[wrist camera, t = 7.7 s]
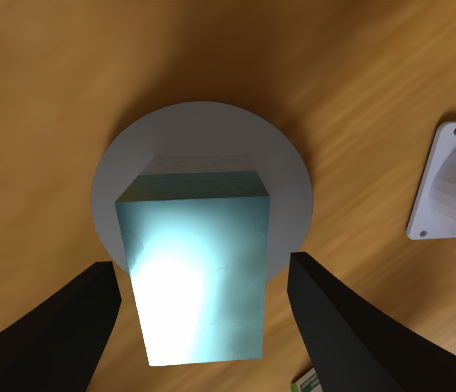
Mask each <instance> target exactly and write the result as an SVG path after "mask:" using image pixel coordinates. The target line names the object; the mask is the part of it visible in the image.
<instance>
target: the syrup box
mask: <svg viewBox="0 0 456 392" xmlns="http://www.w3.org/2000/svg"><path fill="white" fill-rule="evenodd" d="M291 392H323V391H322V388H321V385H320V382H319V380H318V377H317V374H316V371H315V369H314V368H312V369H311V370H310V371H309V372H308V373H306V374H305V375H304V376H303V377H302V378H300V379H299V380H298V381H297V382H295V383H293V384H292V385H291Z"/></svg>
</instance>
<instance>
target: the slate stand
mask: <svg viewBox="0 0 456 392" xmlns="http://www.w3.org/2000/svg"><path fill="white" fill-rule="evenodd" d="M239 154H247V155H248V157H249V158H250V160H251V162H252V164H253V166H254V168H255V169H256V171H257V173H258V175H259V177H260V179H261V181H262V182H263V184H264V186H265V188H266V190H267V192H268V193H269V195H270V204H269V224H268V244H267V264H266V282H268V281H269V280H271V279H272V278H274V277H275V276H276V275H278V274H279V273H280V272H281V271H282V270H283V269H284V268H285V267H286V266H287V265H288V264H289V263H290V254H291V252H298V251H299V249H300V248H301V246H302V244H303V242H304V240H305V238H306V236H307V233H308V230H309V227H310V223H311V218H312V213H313V193H312V185H311V181H310V177H309V174H308V171H307V169H306V166H305V164H304V161H303V160H302V158H301V156H300V155H299V153H298V151H297V149H296V148H295V147H294V146H293V144H292V143H291V142H290V141H289V140H288V138H287V137H286V136H285V135H284V134H282V133H281V132H280V131H279V130H278V129H277V128H276V127H275V126H273V125H272V124H270V123H269V122H267V121H266V120H264V119H263V118H261V117H260V116H258V115H256V114H254V113H252V112H250V111H248V110H246V109H243V108H240V107H237V106H234V105H231V104H227V103H222V102H216V101H189V102H182V103H178V104H173V105H169V106H166V107H164V108H161V109H159V110H156V111H154V112H151V113H149V114H147V115H145V116H143V117H142V118H140V119H138V120H136V121H135V122H133V123H132V124H131V125H130V126H128V127H127V128H126V129H125V130H123V131H122V132H121V133H120V134H119V135H118V136H117V137H116V139H115V140H114V141H113V142H112V143H111V144H110V146H109V147H108V149H107V150H106V152H105V153H104V155H103V156H102V158H101V161H100V163H99V165H98V167H97V169H96V173H95V177H94V180H93V185H92V194H91V206H92V215H93V220H94V224H95V227H96V230H97V233H98V236H99V238H100V240H101V242H102V244H103V246H104V247H105V249H106V250H107V252H108V253H109V255H110V256H111V258H112V259H113V260H114V261H115V262H116V263H117V264H118V266H119V267H120V268H121V269H123V270H124V271H125V272H126V273H127V274H128V275H129V276H130V272H129V267H128V263H127V258H126V253H125V249H124V244H123V240H122V235H121V231H120V226H119V222H118V217H117V213H116V208H115V204H114V202H115V201H116V200H117V199H118V198H119V197H120V195H121V194H122V193H123V192H124V191H125V190H126V189H127V187H128V186H129V185H130V184H131V183H132V182H133V181H134V179H135V178H136V177H137V176H138V175H139V174H140V173H141V171H142V170H143V169H144V168H145V167H146V166H147V165H148V163H149V162H150V161H151V160H152V159H153V158H154V157H180V156H209V155H239Z"/></svg>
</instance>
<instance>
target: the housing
mask: <svg viewBox="0 0 456 392" xmlns="http://www.w3.org/2000/svg"><path fill="white" fill-rule="evenodd" d="M114 204H115V208H116V213H117V217H118V222H119V226H120V231H121V235H122V240H123V244H124V249H125V253H126V258H127V263H128V267H129V272H130V276H131V281H132V285H133V290H134V294H135V299H136V303H137V308H138V312H139V317H140V322H141V326H142V331H143V335H144V340H145V344H146V349H147V353H148V358H149V362H150V366H157V365H171V364H185V363H200V362H214V361H228V360H242V359H256V358H262V344H263V324H264V304H265V284H266V264H267V244H268V224H269V204H270V195H269V193H268V192H267V190H266V188H265V186H264V184H263V182H262V181H261V179H260V177H259V175H258V173H257V171H256V169H255V168H254V166H253V164H252V162H251V160H250V158H249V157H248V155H247V154H239V155H209V156H180V157H154V158H153V159H152V160H151V161H150V162H149V163H148V165H147V166H146V167H145V168H144V169H143V170H142V171H141V173H140V174H139V175H138V176H137V177H136V178H135V179H134V181H133V182H132V183H131V184H130V185H129V186H128V187H127V189H126V190H125V191H124V192H123V193H122V194H121V195H120V197H119V198H118V199H117V200H116V201H115V202H114Z"/></svg>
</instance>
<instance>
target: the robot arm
mask: <svg viewBox="0 0 456 392" xmlns="http://www.w3.org/2000/svg"><path fill="white" fill-rule="evenodd" d="M455 128H456V121H453V122H444V123H442V124H441V125H440V126H439V127H438V129H437V131H436V135H435V138H434V141H433V145H432V148H431V151H430V155H429V158H428V161H427V164H426V168H425V171H424V174H423V178H422V181H421V184H420V188H419V191H418V194H417V198H416V201H415V204H414V207H413V211H412V214H411V217H410V221H409V224H408V227H407V231H406V235H407V236H408V237H409V238H410V239H412V240H419V239H438V238H456V131H455V133H454V130H455ZM287 293H288V297H289V301H290V305H291V308H292V312H293V315H294V318H295V321H296V323H297V326H298V328H299V331H300V333H301V336H302V339H303V341H304V344H305V346H306V349H307V351H308V354H309V356H310V359H311V361H312V364H313V366H314V369H315V371H316V374H317V377H318V380H319V382H320V385H321V388H322V391H323V392H456V355H454V354H452V353H450V352H448V351H446V350H445V349H443V348H441V347H439V346H437V345H436V344H434V343H432V342H430V341H429V340H427V339H425V338H423V337H421V336H420V335H418V334H416V333H415V332H413V331H411V330H410V329H408V328H406V327H405V326H403V325H402V324H400V323H398V322H397V321H395V320H394V319H392V318H391V317H389V316H388V315H386V314H384V313H383V312H381V311H380V310H378V309H377V308H376V307H374V306H373V305H371V304H370V303H369V302H367V301H366V300H364V299H363V298H362V297H360V296H359V295H358V294H356V293H355V292H354V291H352V290H351V289H350V288H348V287H347V286H346V285H345V284H343V283H342V282H341V281H340V280H338V279H337V278H336V277H335V276H334V275H332V274H331V273H330V272H329V271H328V270H326V269H325V268H324V267H323V266H322V265H321V264H319V263H318V262H317V261H316V260H315V259H314V258H312V257H311V256H310V255H309V254H308V253H306V252H291V254H290V265H289V275H288V286H287ZM121 301H122V299H121V295H120V291H119V287H118V283H117V279H116V275H115V271H114V267H113V264H112V261H107V262H96V263H94V264H93V265H91V266H90V267H89V268H87V269H86V270H85V271H83V272H82V273H81V274H79V275H78V276H77V277H76V278H74V279H73V280H72V281H70V282H69V283H68V284H67V285H65V286H64V287H63V288H61V289H60V290H59V291H57V292H56V293H55V294H53V295H52V296H51V297H50V298H48V299H47V300H46V301H44V302H43V303H41V304H40V305H39V306H37V307H36V308H34V309H33V310H32V311H30V312H29V313H27V314H26V315H25V316H23V317H22V318H21V319H19V320H18V321H16V322H15V323H14V324H12V325H11V326H9V327H8V328H6V329H5V330H3V331H2V332H0V392H86V390H87V387H88V385H89V383H90V380H91V378H92V376H93V374H94V371H95V369H96V367H97V364H98V362H99V360H100V358H101V355H102V353H103V351H104V349H105V346H106V344H107V342H108V339H109V337H110V335H111V332H112V330H113V327H114V325H115V322H116V318H117V315H118V312H119V308H120V305H121Z"/></svg>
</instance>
